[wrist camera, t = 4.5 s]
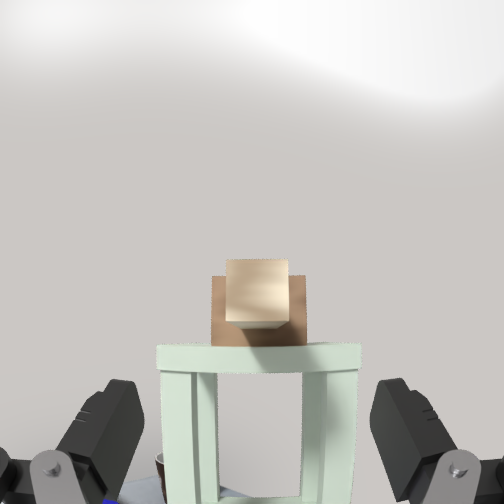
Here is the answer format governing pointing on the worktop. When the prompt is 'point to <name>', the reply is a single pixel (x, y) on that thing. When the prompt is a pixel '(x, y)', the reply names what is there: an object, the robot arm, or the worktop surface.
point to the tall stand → (206, 417)
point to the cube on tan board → (258, 305)
